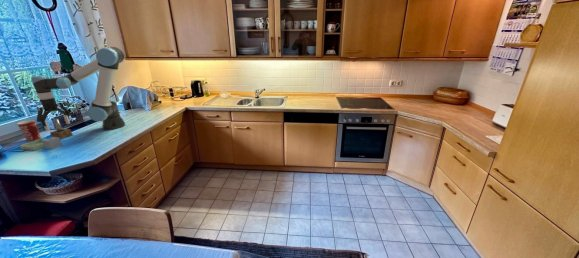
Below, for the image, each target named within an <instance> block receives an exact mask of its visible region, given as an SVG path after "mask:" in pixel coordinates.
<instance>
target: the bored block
mask: <svg viewBox="0 0 579 258" xmlns="http://www.w3.org/2000/svg"><path fill="white" fill-rule="evenodd" d="M62 130H63V131H61V132H57V129H56V130H54V131H50V132H49V134H50V136H51V137H58V138H59V139H60V141H61V140H64V139H67V138H70V137H72V136H73V132H72V130H71V129H70V128H62Z"/></svg>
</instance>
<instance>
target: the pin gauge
mask: <svg viewBox="0 0 579 258" xmlns="http://www.w3.org/2000/svg"><path fill="white" fill-rule="evenodd" d="M52 121H53V123H54V126H55V129H56V130H57V132H61V131H63V130H62V129H63V128H62V125H61V122H60V120H59V118H54V119H52Z"/></svg>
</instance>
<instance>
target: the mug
mask: <svg viewBox="0 0 579 258" xmlns="http://www.w3.org/2000/svg"><path fill="white" fill-rule="evenodd" d="M16 125H17V126H18V128H19V129H20V131H21V132H22V135H23V136H24V138H25V140H26V141H27V142H31V141H34V140H37V139H40V138H42V137H41V134H40V132H39V128H38V126H37V123H36V120H34V119H29V120H23V121H19V122H17V123H16Z"/></svg>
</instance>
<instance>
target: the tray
mask: <svg viewBox="0 0 579 258" xmlns="http://www.w3.org/2000/svg"><path fill="white" fill-rule="evenodd" d="M45 139H46V138H42V137H41V138H40V139H37V140H34V141H27V142H26V143H22V144H21V145H19V148H20V150H22V151H29V150H30V151H32V152H36V151H40V150H42V149H45V146H44V144H43V142H42V140H45Z"/></svg>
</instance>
